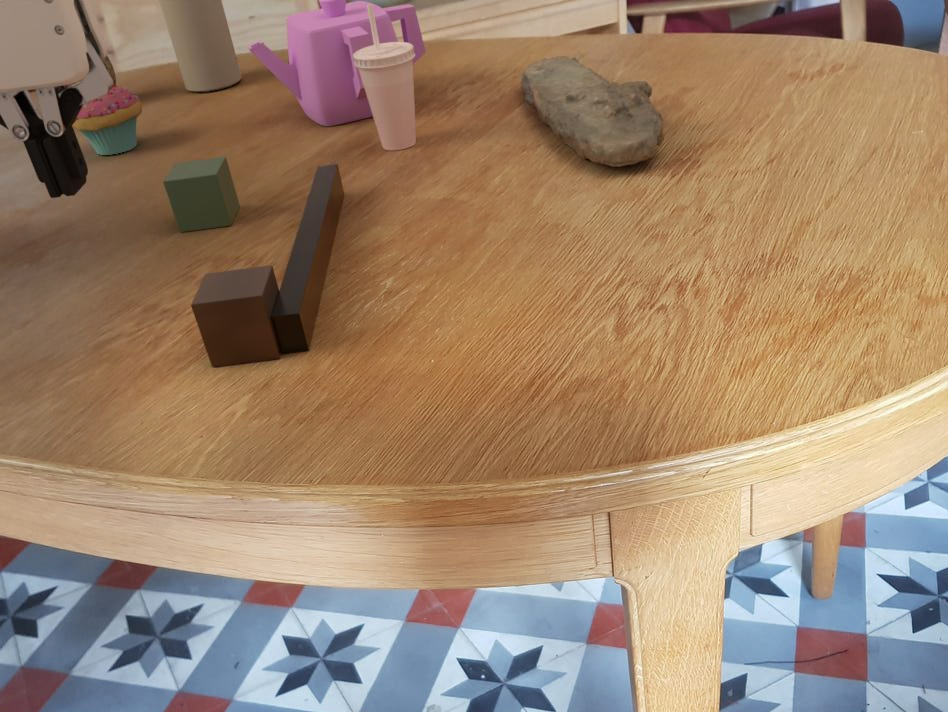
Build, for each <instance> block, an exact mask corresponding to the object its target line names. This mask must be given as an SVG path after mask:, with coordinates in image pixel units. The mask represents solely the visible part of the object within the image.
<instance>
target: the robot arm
mask: <svg viewBox="0 0 948 712" xmlns="http://www.w3.org/2000/svg"><path fill="white" fill-rule="evenodd" d="M107 52H108V51H107V46H106V43H105V40H104V36H103V33H102V30H101V27H100V25H99V22H98V19H97V17H96V14H95V11H94V9H93V7H92V3H91V2H90V0H0V126H2V127H4V128H5V129H7V130H8V132H10V134H11V136H12V137H13V138H14V139H15V140H17V141H19V142H22V143H23V145H24V148H25V150H26V153H27V155H28V157H29V160H30V162H31V164H32V167H33V170H34V172H35V174H36V177H37V179H38V181H39V182H40V183H42V184H44V185H45V186H44V187H45V188H46V190H47V193H48V196H49V197H50V198H51V199H55V198H61V196H63V195H65V196H66V197H73V196H74V197H75V196H76V195H77V194H78V192H79V191H80V190H81V189H82V188H83V187H84V186H85V184H86V183H87V181H88V179H87V176H88V173H89V168H88V165H87V161H86V159H85V156H84V154H83V151H82V148H81V145H80V143H79V140H78V137H77V134H76V131H75V128H73V126H72V125H73V124H74V123H75V122H76V119H77V116H78V114H79V112H80V110H81V108H82V106H83V104H85V103H88V102H90V101H93V100H95V99H97V98H100V97H102V96H104V95H106V94H107V93H108V92H109V91H110V90H111V89H113V86H114V82H113V80H112V78H111V76H110V75H109V73H108V71H107V69H106V68H105V66H104V64H103V63H102V62H103V61H104V60H105V58H106V55H107V56H108V54H107ZM80 80H81V81H80ZM78 81H80V82H78ZM76 82H77V83H76ZM70 84H72V85H70ZM33 90H35V92H36V96H37V101H38V104H39V105H38V106H39V109H40V110H39V109H38V106H37V105H36V102H35V101H34V99H33V98H32V96H31V93H30V91H33Z"/></svg>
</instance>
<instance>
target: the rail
mask: <svg viewBox="0 0 948 712" xmlns="http://www.w3.org/2000/svg"><path fill="white" fill-rule="evenodd" d="M344 197H345V190H344V186H343V181H342V177H341V172H340V168H339V164H338V163H335V164H327V165H320V166H317V168H316V171H315V174H314V177H313V180H312V183H311V187H310V190H309V193H308V195H307V200H306V203H305V205H304V209H303V212H302V216H301V219H300V222H299V226H298V229H297V231H296V235H295V239H294V242H293V245H292V249H291V252H290V255H289V258H288V261H287V263H286V264H287V265H286V268H285V271H284V275H283V278H282V281H281V285H280V288H279V294H278V297H277V300H276V303H275V307H274V310H273V313H272V316H271V318H272V321H273V325H274V328H275V332H276V335H277V339H278V342H279V346H280V349H281V355H283V354H290V353H292V354H293V353H298V352H299V353H301V352H306V351H307V352H308V351H310V347H311V342H312V338H313V333H314V329H315V325H316V321H317V315H318V311H319V307H320V302H321V298H322V294H323V293H322V292H323V289H324V286H325V280H326V278H327V277H326V276H327V272H328V267H329V263H330V258H331V254H332V249H333V247H334V246H333V245H334V241H335V236H336V232H337V227H338V223H339V219H340V214H341V211H342V210H341V209H342V206H343V201H344Z"/></svg>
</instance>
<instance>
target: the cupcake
mask: <svg viewBox="0 0 948 712" xmlns="http://www.w3.org/2000/svg"><path fill="white" fill-rule="evenodd" d="M139 98H140V97H139V96H137V95H136V94H134V92H133V91H129V89H126V88H124V87H122V86H121V87H118V86H117V85H116V87H115V86H114V87H113V89H111V90H110V91H109V92H108V93H107V94H106V95H104V96H102V97H100V98H97V99H95V100H93V101H90V102H88V103H85V104H83V106H82V108H81V110H80V112H79V114H78V116H77V119H76V122H75V123H74V124H73V125H72V126H73V129H74V130H78V131H79V132H80V133H81V134H82V135H83V137H85V138H86V140H87V141H88V142H89V144H90V145H91V147H92V148H93V149H94V151H95V152H96V154H98V155H99V154H100V155H99V156H102V155H110V154H111V155H110V156H113V155H112V154H116V155H119V154H118V153H121V154H123V153H122V152H124V153H127V152H129V151H132V150H134V149H135V148H136V147H137V145H138V142H137V119H138V117H139V116H140V115H142V112H143V108H142V103H141V101H140V99H139ZM126 151H127V152H126Z"/></svg>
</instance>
